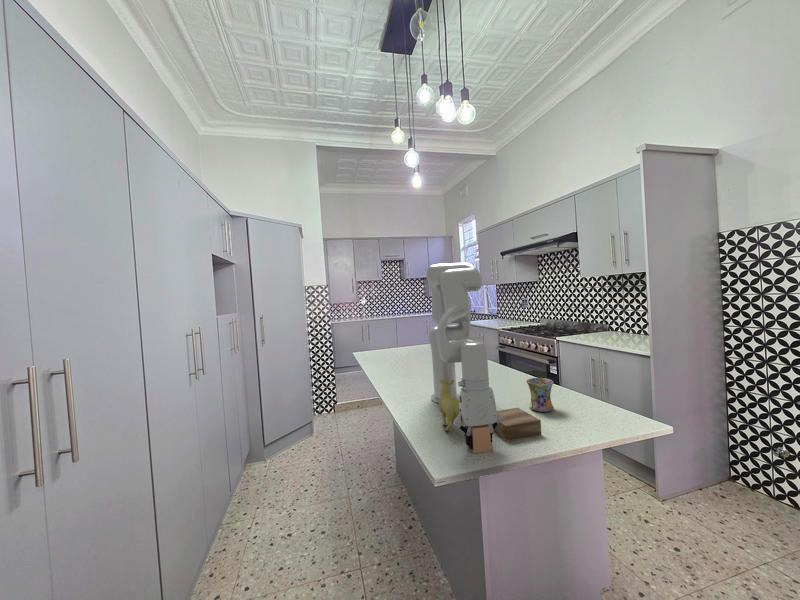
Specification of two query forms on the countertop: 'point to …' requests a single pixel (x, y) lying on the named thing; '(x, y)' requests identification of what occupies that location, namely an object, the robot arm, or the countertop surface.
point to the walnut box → (517, 425)
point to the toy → (448, 405)
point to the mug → (540, 394)
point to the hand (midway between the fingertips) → (479, 445)
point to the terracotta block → (481, 438)
